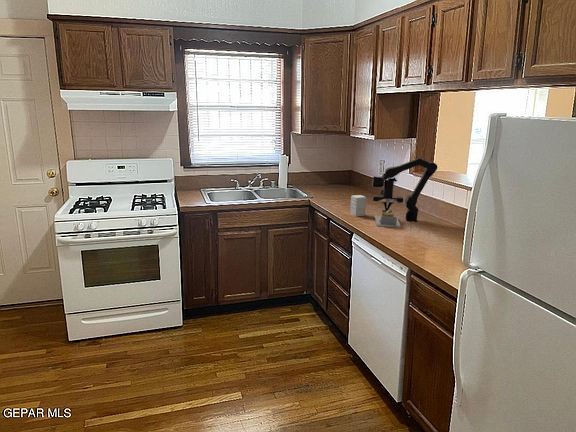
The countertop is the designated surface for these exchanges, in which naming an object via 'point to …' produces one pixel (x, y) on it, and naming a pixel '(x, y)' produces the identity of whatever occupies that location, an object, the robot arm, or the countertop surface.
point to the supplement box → (358, 205)
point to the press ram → (386, 211)
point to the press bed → (387, 221)
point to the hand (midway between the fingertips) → (386, 212)
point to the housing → (388, 213)
